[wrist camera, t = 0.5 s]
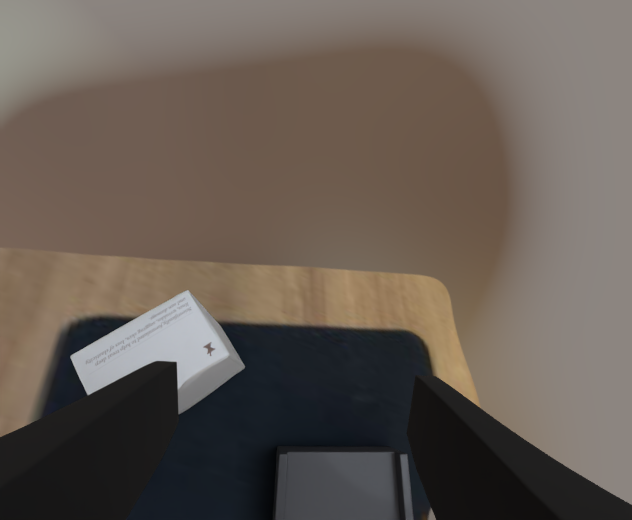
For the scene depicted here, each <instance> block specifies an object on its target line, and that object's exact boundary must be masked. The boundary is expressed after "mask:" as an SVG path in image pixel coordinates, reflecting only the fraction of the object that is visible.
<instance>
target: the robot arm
mask: <svg viewBox="0 0 632 520" xmlns="http://www.w3.org/2000/svg"><path fill="white" fill-rule="evenodd" d="M178 422H179V414H178V382H177V362H171V361H155V362H152V363H150V364H148V365H145V366H143V367H141V368H139V369H137V370H135V371H133V372H132V373H130V374H128V375H126V376H124V377H122V378H120V379H118V380H116V381H114V382H113V383H111V384H109V385H107V386H105V387H103V388H101V389H99V390H97V391H95V392H93V393H91V394H90V395H88V396H86V397H84V398H82V399H80V400H78V401H76V402H74V403H72V404H70V405H68V406H66V407H64V408H62V409H59V410H57V411H55V412H53V413H51V414H49V415H47V416H45V417H43V418H41V419H39V420H37V421H35V422H33V423H31V424H29V425H27V426H24V427H22V428H20V429H18V430H16V431H13V432H11V433H9V434H7V435H4V436H2V437H0V520H126V518H127V516H128V515H129V513H130V511H131V510H132V508H133V506H134V505H135V503H136V501H137V500H138V498H139V496H140V495H141V493H142V491H143V490H144V488H145V486H146V485H147V483H148V481H149V480H150V478H151V476H152V475H153V473H154V471H155V469H156V468H157V466H158V464H159V463H160V461H161V459H162V457H163V455H164V453H165V451H166V449H167V447H168V445H169V442H170V440H171V438H172V436H173V433H174V431H175V429H176V427H177V424H178ZM407 436H408V440H409V444H410V447H411V451H412V455H413V458H414V462H415V465H416V469H417V472H418V474H419V477H420V480H421V482H422V485H423V487H424V490H425V492H426V495H427V497H428V500H429V503H430V505H431V508H432V510H433V512H434V515H435V518H436V520H632V505H631V504H629V503H627V502H625V501H624V500H622V499H620V498H618V497H616V496H615V495H613V494H611V493H609V492H608V491H606V490H604V489H603V488H601V487H599V486H598V485H596V484H594V483H593V482H591V481H589V480H587V479H586V478H584V477H582V476H581V475H579V474H577V473H576V472H574V471H572V470H571V469H569V468H567V467H566V466H564V465H563V464H561V463H559V462H558V461H556V460H555V459H553V458H551V457H550V456H548V455H547V454H545V453H544V452H542V451H541V450H539V449H538V448H536V447H535V446H533V445H532V444H530V443H529V442H527V441H526V440H524V439H523V438H521V437H520V436H518V435H517V434H516V433H514V432H513V431H511V430H510V429H508V428H507V427H506V426H504V425H502V424H501V423H500V422H499V421H497V420H496V419H494V418H493V417H492V416H490V415H489V414H487V413H486V412H485V411H483V410H482V409H481V408H479V407H478V406H477V405H475V404H474V403H472V402H471V401H470V400H468V399H467V398H466V397H464V396H463V395H462V394H460V393H459V392H458V391H456V390H455V389H453V388H452V387H451V386H449V385H448V384H446V383H445V382H443V381H442V380H440V379H439V378H437V377H436V376H418V375H416V377H415V383H414V390H413V396H412V403H411V409H410V416H409V423H408V429H407Z"/></svg>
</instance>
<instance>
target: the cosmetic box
mask: <svg viewBox="0 0 632 520" xmlns="http://www.w3.org/2000/svg"><path fill="white" fill-rule="evenodd" d="M70 358H71V360H72V362H73V365H74V367H75V369H76V371H77V373H78V376H79V378H80V380H81V382H82V384H83V386H84V388H85V390H86V392H87V395H90V394H91V393H93V392H95V391H97V390H99V389H101V388H103V387H105V386H107V385H109V384H111V383H113V382H114V381H116V380H118V379H120V378H122V377H124V376H126V375H128V374H130V373H132V372H133V371H135V370H137V369H139V368H141V367H143V366H145V365H148V364H150V363H152V362H155V361H171V362H177V382H178V414H180V413H182V412H184V411H186V410H187V409H189V408H190V407H192V406H193V405H194V404H196V403H197V402H199V401H200V400H202V399H203V398H205V397H206V396H207V395H209V394H210V393H211V392H213V391H214V390H215V389H217V388H218V387H219V386H221V385H222V384H224V383H225V382H226V381H228V380H229V379H230V378H231V377H232V376H234V375H235V374H237V373H238V372H240V371H241V370H243V369H244V368H245V366H244V364H243V362H242V361H241V359H240V357H239V356H238V354H237V352H236V351H235V349H234V347H233V346H232V344H231V342H230V341H229V339H228V337H227V336H226V334H225V332H224V331H223V329H222V328H221V326H220V325H219V324H218V322H217V321H216V320H215V319H214V318H213V317H212V316H211V315H210V314H209V313H208V311H207V310H206V309H205V308H204V307H203V306H202V305H201V303H200V302H199V301H198V300H197V299H196V298H195V297H194V296H193V295H192V294H191V293H190V292H189V291H188V290H186V291H184V292H182V293H180V294H179V295H177V296H175V297H173V298H172V299H170V300H168V301H166V302H164V303H163V304H161V305H159V306H157V307H155V308H154V309H152V310H150V311H148V312H147V313H145V314H143V315H141V316H139V317H138V318H136V319H134V320H132V321H130V322H129V323H127V324H125V325H123V326H122V327H120V328H118V329H116V330H115V331H113V332H111V333H109V334H108V335H106V336H104V337H102V338H101V339H99V340H97V341H95V342H94V343H92V344H90V345H89V346H87V347H85V348H83V349H82V350H80V351H78V352H76V353H75V354H73V355H71V357H70Z"/></svg>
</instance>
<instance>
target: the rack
mask: <svg viewBox="0 0 632 520" xmlns="http://www.w3.org/2000/svg"><path fill="white" fill-rule="evenodd" d="M272 520H414V518H413V508H412V497H411V486H410V476H409V465H408V455H407V454H406V453H404V452H401V451H398V450H396V449H393V448H391V447H388V446H277V458H276V473H275V488H274V503H273V518H272Z"/></svg>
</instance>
